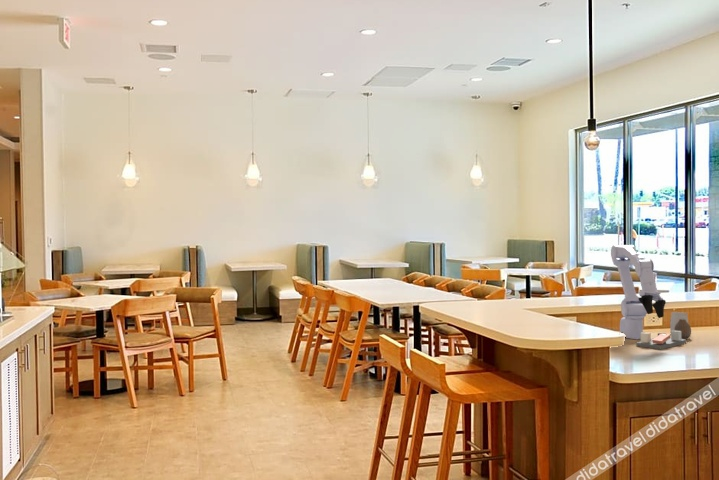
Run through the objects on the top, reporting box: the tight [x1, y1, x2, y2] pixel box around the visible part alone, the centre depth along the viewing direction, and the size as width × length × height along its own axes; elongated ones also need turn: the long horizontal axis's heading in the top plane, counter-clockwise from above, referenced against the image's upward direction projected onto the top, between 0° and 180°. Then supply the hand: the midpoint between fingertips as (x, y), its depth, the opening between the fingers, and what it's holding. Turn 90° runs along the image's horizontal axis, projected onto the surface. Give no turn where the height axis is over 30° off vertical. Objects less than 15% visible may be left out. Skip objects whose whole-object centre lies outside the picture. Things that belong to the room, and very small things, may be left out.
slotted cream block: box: [640, 331, 652, 343], centre depth 298 cm, size 3×2×4 cm
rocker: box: [652, 333, 671, 344], centre depth 294 cm, size 4×7×2 cm, turn 127°
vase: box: [674, 319, 692, 340], centre depth 312 cm, size 7×7×9 cm
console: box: [635, 338, 687, 350], centre depth 300 cm, size 11×20×2 cm, turn 127°
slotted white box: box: [670, 330, 682, 341], centre depth 300 cm, size 3×2×4 cm
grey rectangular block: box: [669, 311, 689, 333], centre depth 323 cm, size 4×7×10 cm, turn 48°
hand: (655, 315), depth 293 cm, fingers open, 7 cm apart
